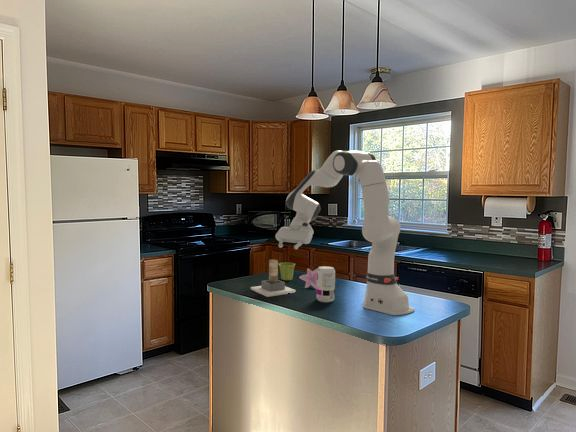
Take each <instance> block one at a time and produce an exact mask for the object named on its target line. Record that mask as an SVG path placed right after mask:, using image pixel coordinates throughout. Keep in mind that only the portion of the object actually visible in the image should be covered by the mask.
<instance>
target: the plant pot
mask: <svg viewBox="0 0 576 432" xmlns="http://www.w3.org/2000/svg"><path fill="white" fill-rule="evenodd" d="M295 267H296V263H294V262H278V268H279V270H280V271H279V272H280V279H281V281H282V280H283V281H292V280H293V279H294V278H293V277H294V270H295Z"/></svg>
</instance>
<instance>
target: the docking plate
mask: <svg viewBox="0 0 576 432" xmlns="http://www.w3.org/2000/svg"><path fill="white" fill-rule="evenodd" d="M260 284H261V285H258V286H250V291H253V292H255V293H257V294H260V295H263V296H264V297H267V298H269V297H275V296H282V295H289V294H288V293H290V294H296V293H295V292H296V289H293V288H291V287H288V286H286V282H285V281H284V280H283V281H282V280H280V279H278V283H272V284H271V283H269V279H266V280H261V282H260Z"/></svg>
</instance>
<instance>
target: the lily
mask: <svg viewBox="0 0 576 432" xmlns="http://www.w3.org/2000/svg"><path fill="white" fill-rule="evenodd" d="M318 268H319V267H317V268H315V269H314V270H311V269H310V268H309V267H307V269H306V273H307V274H302V275H299V279H300V280H302V281H304V282H305V285H304V288H305V289H307V288H309V287H310V286H312V288H314V289H315V290H317V270H318Z"/></svg>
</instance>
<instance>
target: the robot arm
mask: <svg viewBox="0 0 576 432" xmlns="http://www.w3.org/2000/svg"><path fill="white" fill-rule="evenodd" d="M376 159H377V158H376V156H375V155H374V154H373V153H372V152H369V151H366V150H363V151H362V150H348V151H347V150H335V151H333V152H332V153H331V154H330V155H329V156H328V157H327V158H326V160H325V161H324V162H323V164H322V166H321V167H320V168H318V169H313V170H312V171H310V172H309V173H308V174H307V175H306V176H305V177H304V178H303V179H302V181H301V182H300V183H299V184H298V185H297V186H296V187H295V188H294V189H293V190H292V191H291V192H290V193H288V195H287V197H286V200H285V204H286V206H287V208H288V209H290V210H292V211H295V212H296V214H295V217H293V219H292V221H291V223H290V224H289V226H288V225H287V226H286V225H284V226H282V227H280V228H279V229H278V231H277V232H276V233H275V236H274V237H275V239H276V240H277V241H278V248H283V247H284V244H283V243H284V242H285V243H293V244H294V245H293V249H294V250H298V249H299V248H300V247H301V246H302V245H303V244H304V245H308V244H310V243H311V241H312V238H313V235H314V229H313V228H312V225H311V224H310V222H312V221H315V220H317V218H318V217H319V213H320V212H321V210H322V209H321V205H320V203H319V202H318V201H316V200H314V199H312V198H310V197H308V196H307V195H305V194H304V191H305V190H306V189H308V187H309V186H316V187H322V188H333V187H335V186H337V185H338V184H339V182H340V181H341V180H342V179H343V177H344V176H348V177H349V176H351V177H352V176H357V178H358V180H359V184H360V190H361V194H362V195H361V196H362V200H363V209H364V212H363V225H362V228H361V234H362V236H363V238H364V240H366V241H368V242H370V243H371V247H370V251H369V253H368V257H367V259H368V261H367V272H366V287H365V293H364V299H363V302H362V304H363V305H362V307H363V308H364V309H368V310H371V311H376V312H379V313H381V314H387V315H391V316H402V315H407V314H412V313H413V312H415V307H413V306H411V305H410V301H409V296H408V294H407V293H406V292H405V291H404V290H403V289H402V288H401V287H400V286H399V285H398V284H397V281H398V280H399V276H396V275H395V273H394V271H395V270H394V267H395V254H396V249H397V245H398V239H399V235H400V233H401V228H402V227H401V223H400V221H399V219H398V220H397V218H396V217H393V216H391V215H389V207H390V206H389V204H390V202H391V201H390V200H391V199H390V195H389V189H388V185H387V180H386V176H385V173H384V170H383V168H382V165H381V163H380V162H379V161H378V160H376Z"/></svg>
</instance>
